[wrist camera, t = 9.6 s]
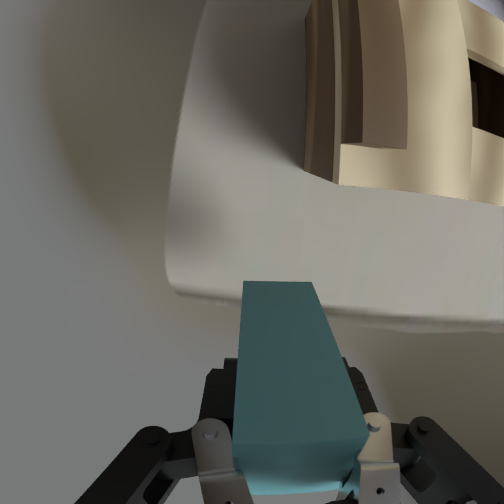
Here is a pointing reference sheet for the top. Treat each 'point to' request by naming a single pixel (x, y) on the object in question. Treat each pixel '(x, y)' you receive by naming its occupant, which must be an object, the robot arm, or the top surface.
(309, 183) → the top surface
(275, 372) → the teal block
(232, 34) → the top surface
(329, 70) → the wooden box
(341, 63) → the lid
